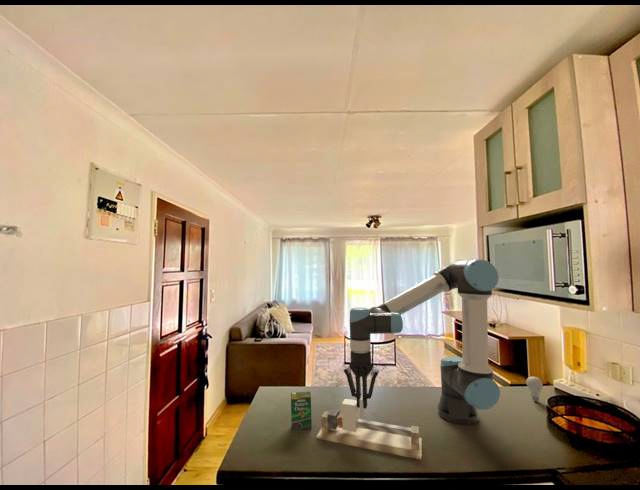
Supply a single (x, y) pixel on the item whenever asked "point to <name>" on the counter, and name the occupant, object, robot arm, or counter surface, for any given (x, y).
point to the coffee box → (301, 410)
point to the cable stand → (372, 435)
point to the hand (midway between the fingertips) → (362, 416)
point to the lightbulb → (534, 387)
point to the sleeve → (349, 415)
